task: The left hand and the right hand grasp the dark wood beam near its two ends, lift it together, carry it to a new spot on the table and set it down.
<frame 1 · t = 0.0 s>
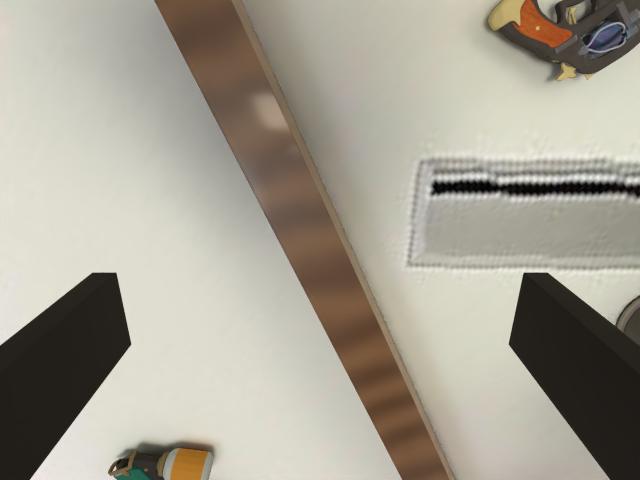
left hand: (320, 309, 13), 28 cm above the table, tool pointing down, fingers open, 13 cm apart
beam: (362, 323, 46), on the table
spray gun: (184, 479, 55), on the table
toy gun: (601, 1, 34), on the table
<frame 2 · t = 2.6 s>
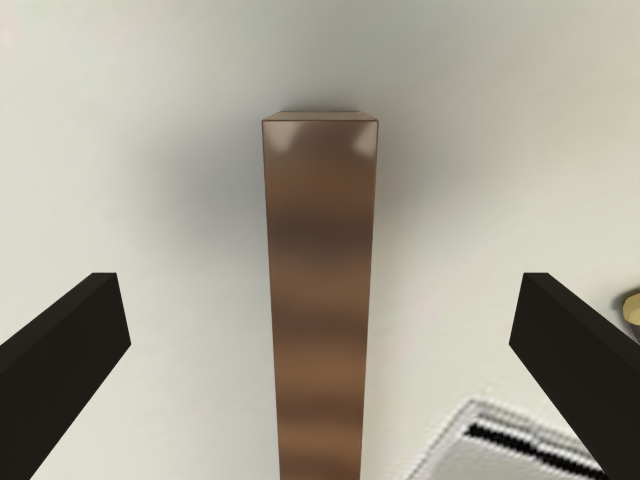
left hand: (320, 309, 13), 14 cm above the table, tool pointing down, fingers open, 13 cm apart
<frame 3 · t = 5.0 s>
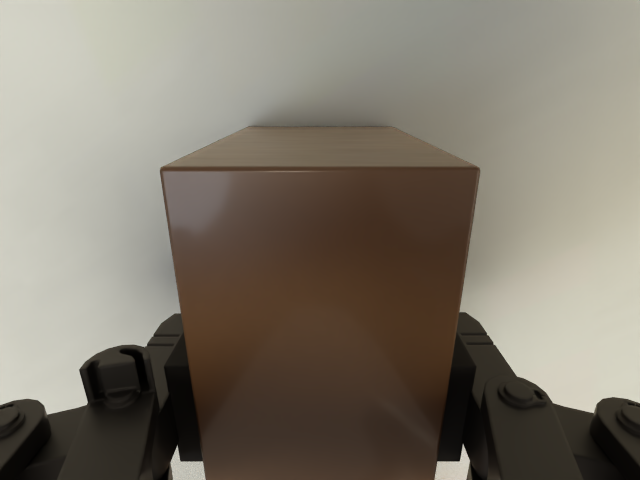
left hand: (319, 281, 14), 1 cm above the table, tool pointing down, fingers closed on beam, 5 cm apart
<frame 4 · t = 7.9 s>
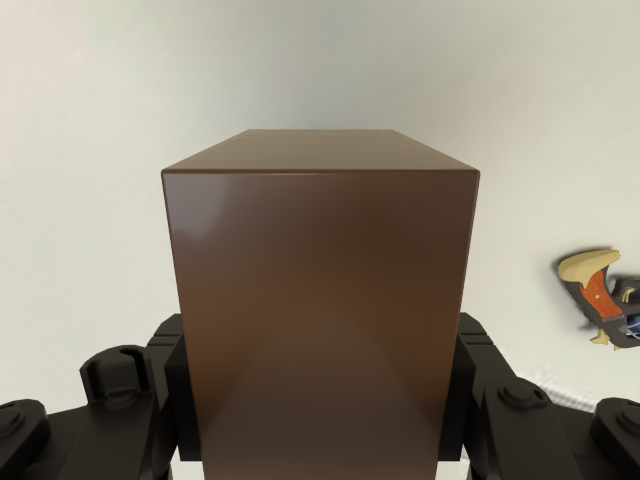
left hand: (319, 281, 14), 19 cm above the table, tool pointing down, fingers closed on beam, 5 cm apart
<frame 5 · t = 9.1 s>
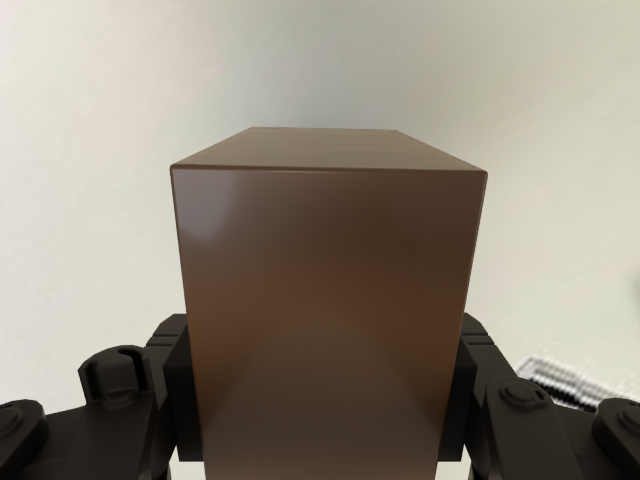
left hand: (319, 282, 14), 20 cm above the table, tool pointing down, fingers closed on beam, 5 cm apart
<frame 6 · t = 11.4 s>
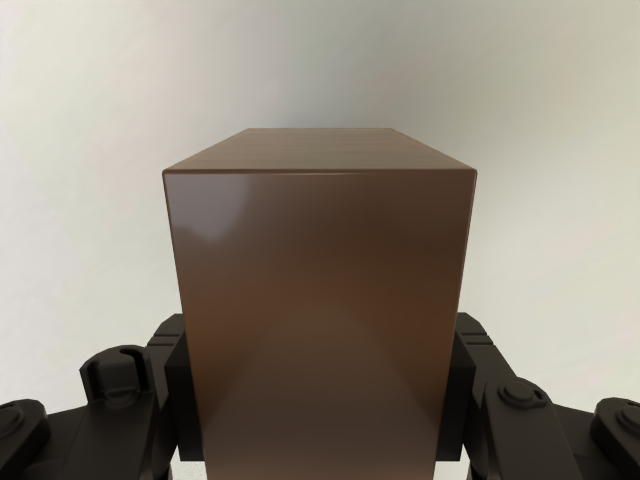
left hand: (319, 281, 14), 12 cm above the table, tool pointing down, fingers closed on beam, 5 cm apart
when the left hand's fingers open (2 cm above the table, at t = 13.4 s): beam drops 1 cm, on the table.
when the right hand's fingers open (4 cm above the table, at t = 13.5 s): beam stays where it is, on the table.
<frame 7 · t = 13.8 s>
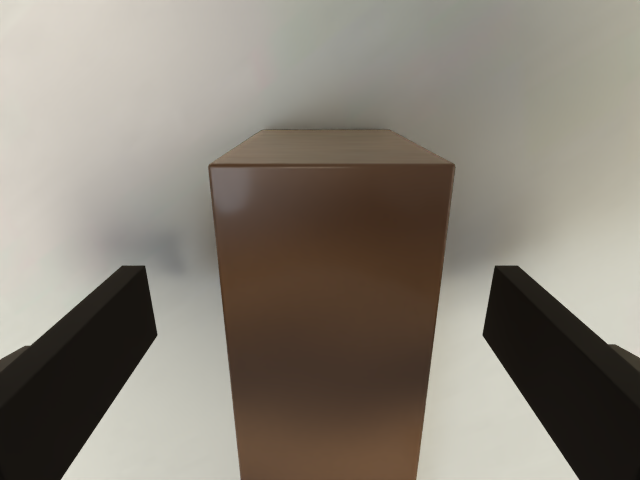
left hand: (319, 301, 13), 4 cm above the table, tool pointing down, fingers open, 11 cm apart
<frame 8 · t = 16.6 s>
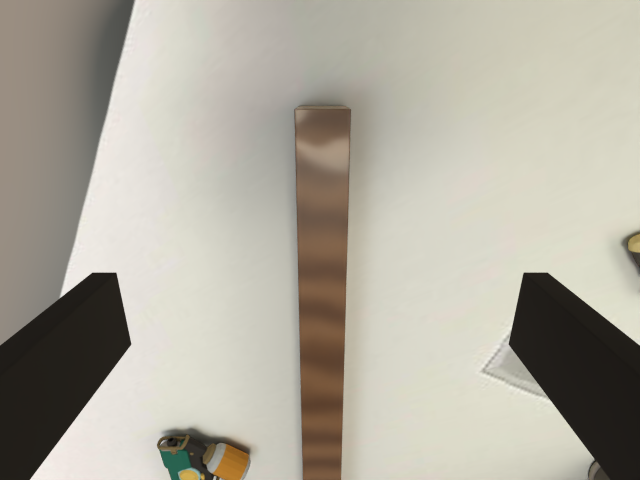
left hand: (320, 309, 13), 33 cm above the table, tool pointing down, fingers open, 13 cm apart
beam: (321, 387, 55), on the table
spray gun: (208, 468, 61), on the table
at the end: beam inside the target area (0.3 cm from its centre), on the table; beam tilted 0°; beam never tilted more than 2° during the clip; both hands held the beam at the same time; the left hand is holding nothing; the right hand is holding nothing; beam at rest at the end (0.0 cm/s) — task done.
